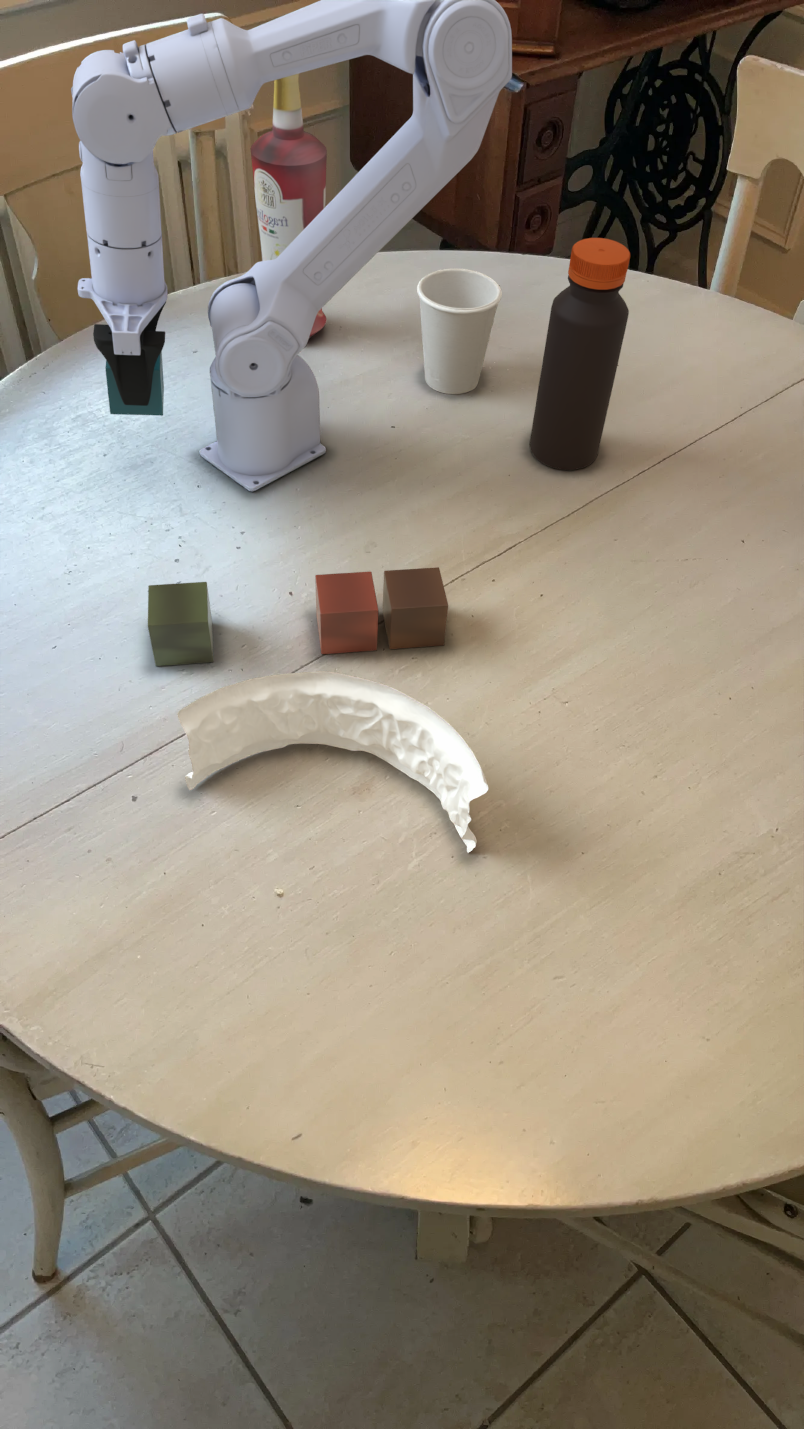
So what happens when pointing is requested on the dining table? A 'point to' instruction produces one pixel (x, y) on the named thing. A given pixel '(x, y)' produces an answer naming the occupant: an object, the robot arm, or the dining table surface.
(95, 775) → the dining table surface
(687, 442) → the dining table surface
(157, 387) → the teal block
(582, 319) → the bottle
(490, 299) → the dixie cup
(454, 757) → the curved plaster moulding
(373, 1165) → the dining table surface
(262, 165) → the liquor
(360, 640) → the block row
